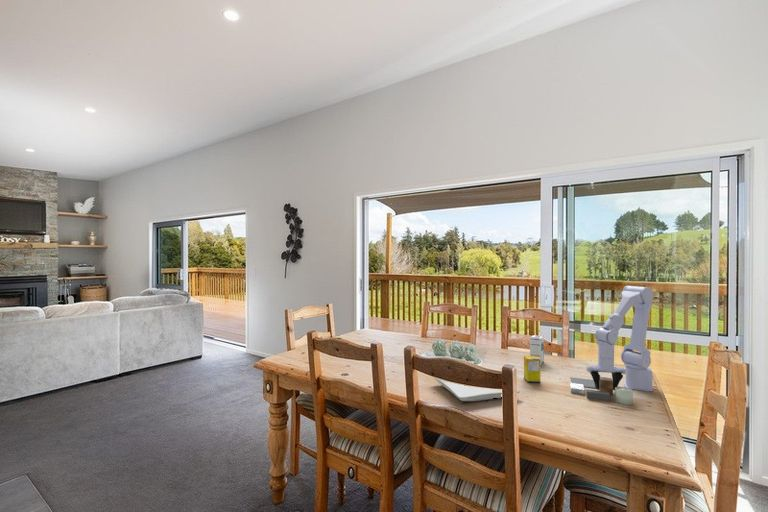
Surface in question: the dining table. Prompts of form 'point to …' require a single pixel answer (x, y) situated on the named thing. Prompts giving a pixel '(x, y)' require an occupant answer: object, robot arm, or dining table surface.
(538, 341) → the syrup box
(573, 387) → the grey topped wooden block
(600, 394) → the charcoal rubber bar
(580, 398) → the dining table surface
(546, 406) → the dining table surface
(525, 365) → the supplement box
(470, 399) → the square plate
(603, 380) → the walnut block
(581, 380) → the slate coaster
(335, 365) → the dining table surface
